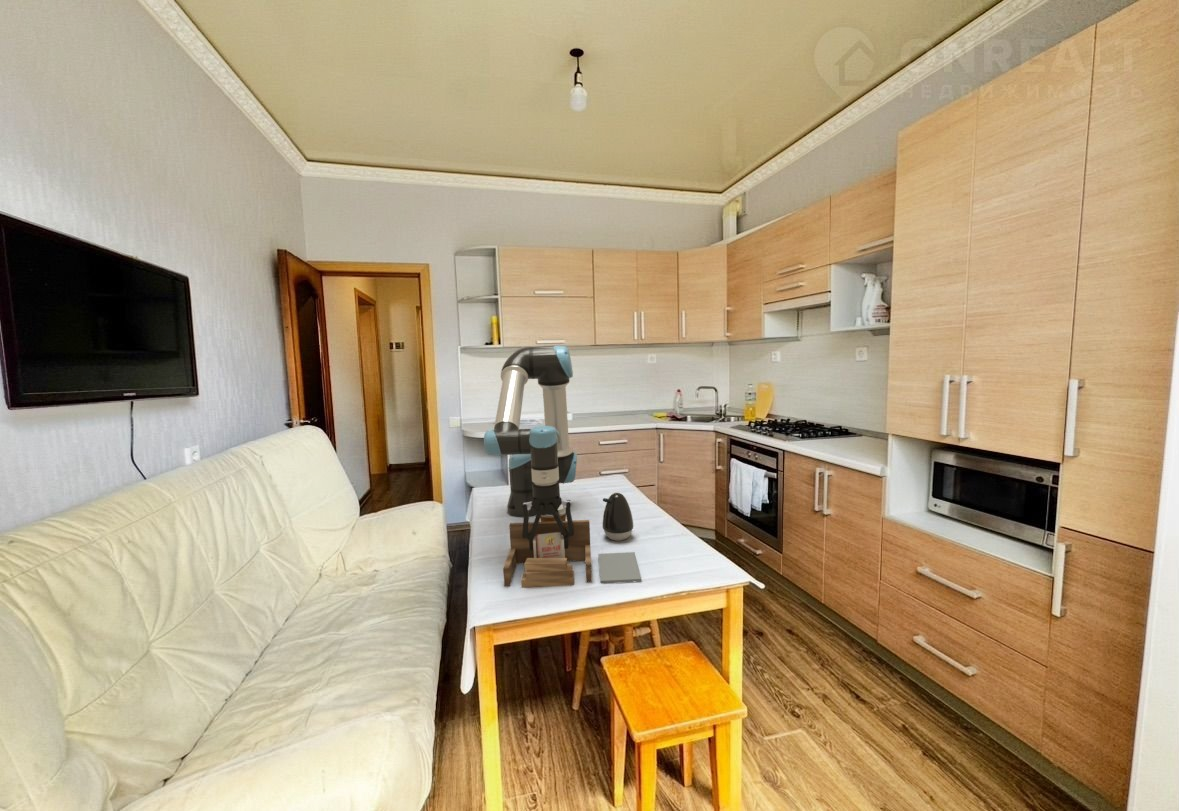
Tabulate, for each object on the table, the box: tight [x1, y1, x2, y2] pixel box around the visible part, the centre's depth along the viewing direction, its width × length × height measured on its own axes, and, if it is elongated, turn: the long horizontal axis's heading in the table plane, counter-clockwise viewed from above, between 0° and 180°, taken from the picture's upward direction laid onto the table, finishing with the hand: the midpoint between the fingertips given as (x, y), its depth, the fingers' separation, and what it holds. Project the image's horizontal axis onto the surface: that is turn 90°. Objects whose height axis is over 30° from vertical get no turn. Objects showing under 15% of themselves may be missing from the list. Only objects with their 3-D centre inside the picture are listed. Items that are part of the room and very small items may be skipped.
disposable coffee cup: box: [540, 504, 567, 522], centre depth 146 cm, size 10×10×12 cm
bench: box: [502, 519, 593, 587], centre depth 126 cm, size 14×24×12 cm, turn 91°
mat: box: [597, 551, 643, 584], centre depth 127 cm, size 16×11×1 cm
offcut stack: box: [520, 558, 575, 588], centre depth 120 cm, size 5×14×6 cm, turn 91°
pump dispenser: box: [602, 492, 634, 542], centre depth 147 cm, size 10×10×15 cm
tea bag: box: [537, 532, 562, 558], centre depth 127 cm, size 4×7×10 cm, turn 99°
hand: (549, 559), depth 127 cm, fingers closed on tea bag, 7 cm apart
